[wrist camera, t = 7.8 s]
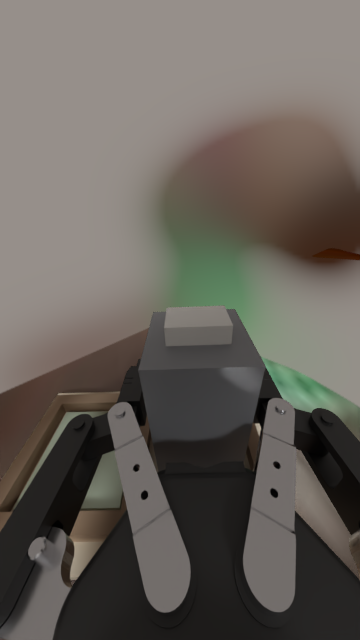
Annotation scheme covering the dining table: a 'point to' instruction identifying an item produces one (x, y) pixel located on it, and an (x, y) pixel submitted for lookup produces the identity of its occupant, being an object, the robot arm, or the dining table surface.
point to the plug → (200, 385)
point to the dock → (106, 486)
